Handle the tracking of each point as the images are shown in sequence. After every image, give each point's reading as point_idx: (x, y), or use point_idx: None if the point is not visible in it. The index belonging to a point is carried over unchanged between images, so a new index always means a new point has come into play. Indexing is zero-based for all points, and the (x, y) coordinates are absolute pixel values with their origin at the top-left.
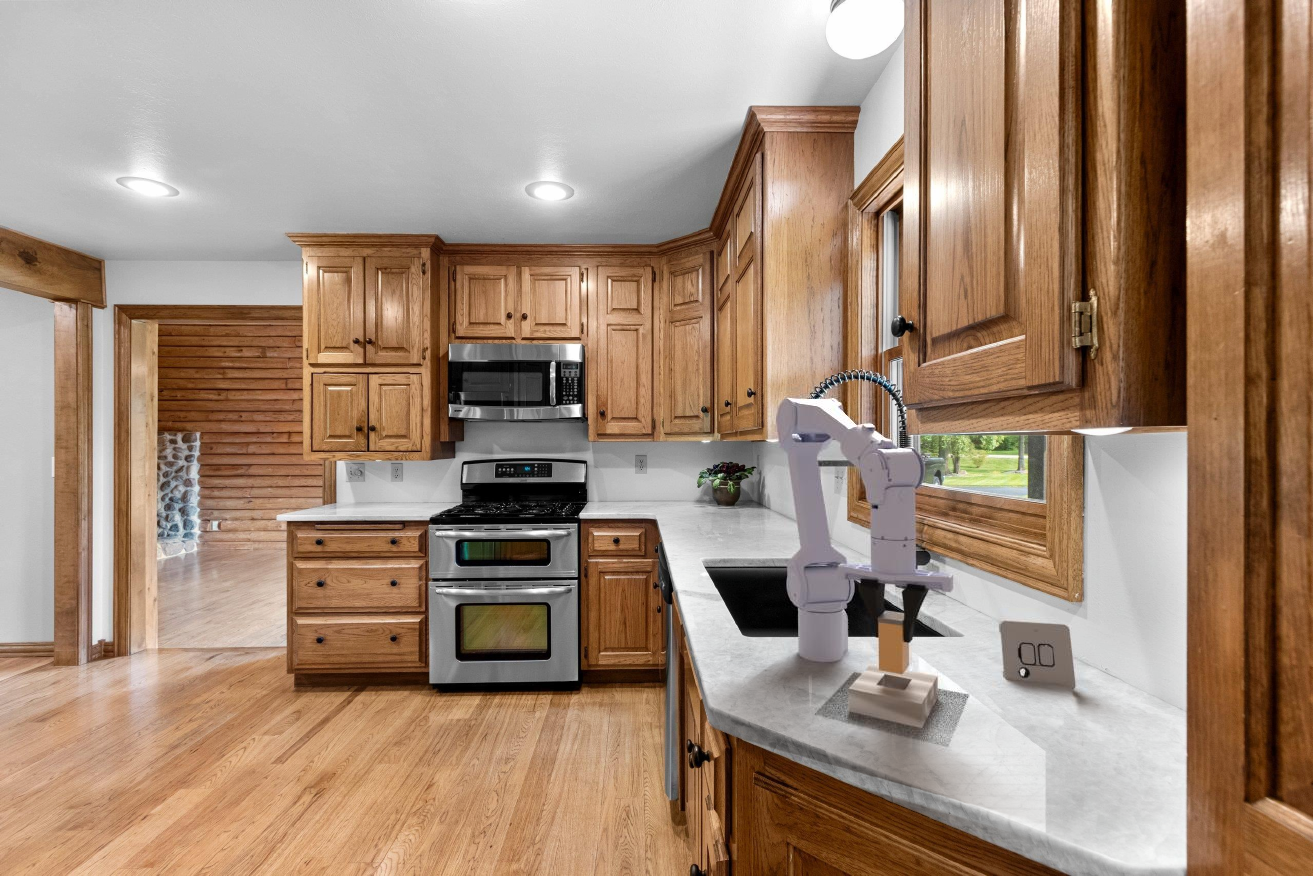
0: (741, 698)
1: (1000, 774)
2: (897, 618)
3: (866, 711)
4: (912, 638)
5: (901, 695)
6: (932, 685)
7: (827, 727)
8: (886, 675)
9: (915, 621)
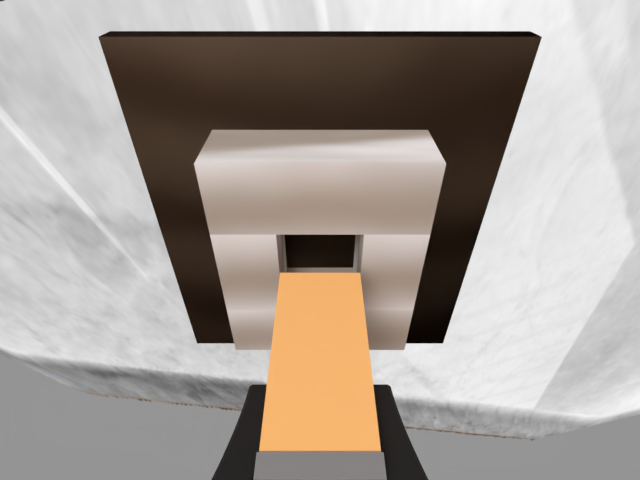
0: (17, 310)
1: (514, 341)
2: None
3: None
4: (391, 391)
5: None
6: (427, 245)
7: None
8: (281, 231)
9: (417, 461)
